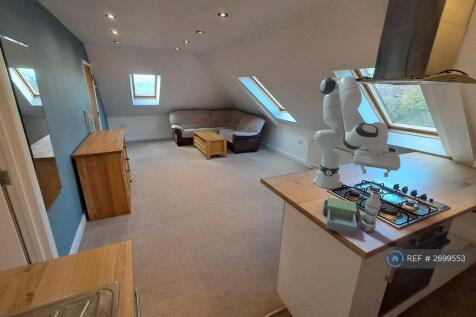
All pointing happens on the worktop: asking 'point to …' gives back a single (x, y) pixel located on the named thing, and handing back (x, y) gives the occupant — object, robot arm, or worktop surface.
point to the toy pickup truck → (341, 215)
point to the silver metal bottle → (371, 212)
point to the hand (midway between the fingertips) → (374, 174)
